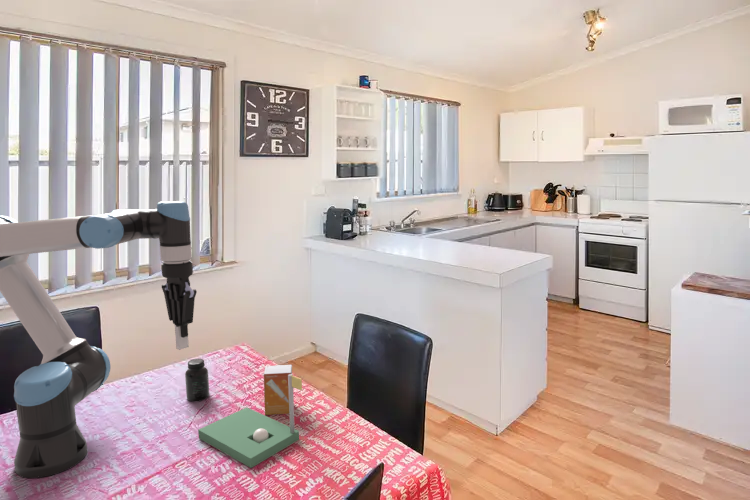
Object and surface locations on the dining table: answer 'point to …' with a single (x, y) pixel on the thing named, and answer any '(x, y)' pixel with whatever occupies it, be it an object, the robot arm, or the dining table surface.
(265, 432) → the ball
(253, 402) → the dining table surface
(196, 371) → the supplement bottle
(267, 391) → the small box
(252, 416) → the putting green
